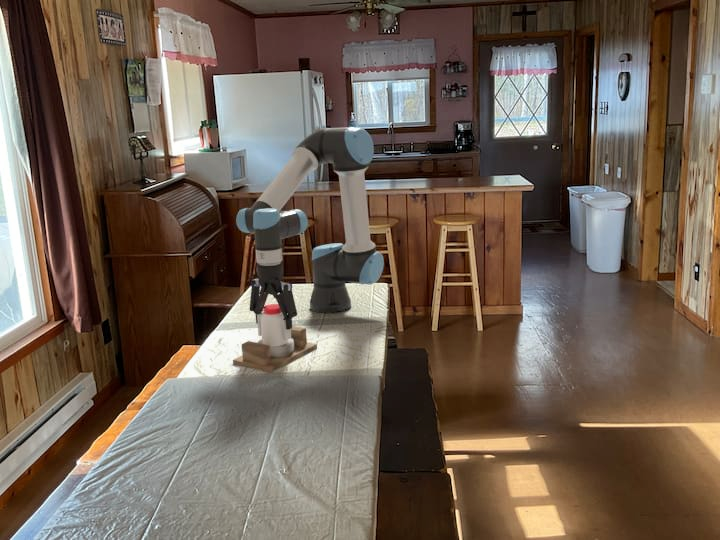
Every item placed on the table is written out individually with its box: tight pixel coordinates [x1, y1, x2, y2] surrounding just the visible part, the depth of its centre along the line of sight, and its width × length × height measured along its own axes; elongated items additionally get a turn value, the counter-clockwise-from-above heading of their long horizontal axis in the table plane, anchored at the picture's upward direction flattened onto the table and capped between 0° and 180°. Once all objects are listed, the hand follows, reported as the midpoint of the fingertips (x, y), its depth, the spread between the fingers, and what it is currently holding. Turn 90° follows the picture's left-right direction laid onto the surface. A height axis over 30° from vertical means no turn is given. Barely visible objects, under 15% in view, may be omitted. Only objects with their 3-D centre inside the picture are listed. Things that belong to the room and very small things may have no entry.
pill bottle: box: [260, 303, 288, 347], centre depth 200 cm, size 8×8×11 cm
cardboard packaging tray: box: [232, 325, 318, 373], centre depth 202 cm, size 22×14×6 cm, turn 147°
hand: (274, 336), depth 201 cm, fingers open, 9 cm apart
